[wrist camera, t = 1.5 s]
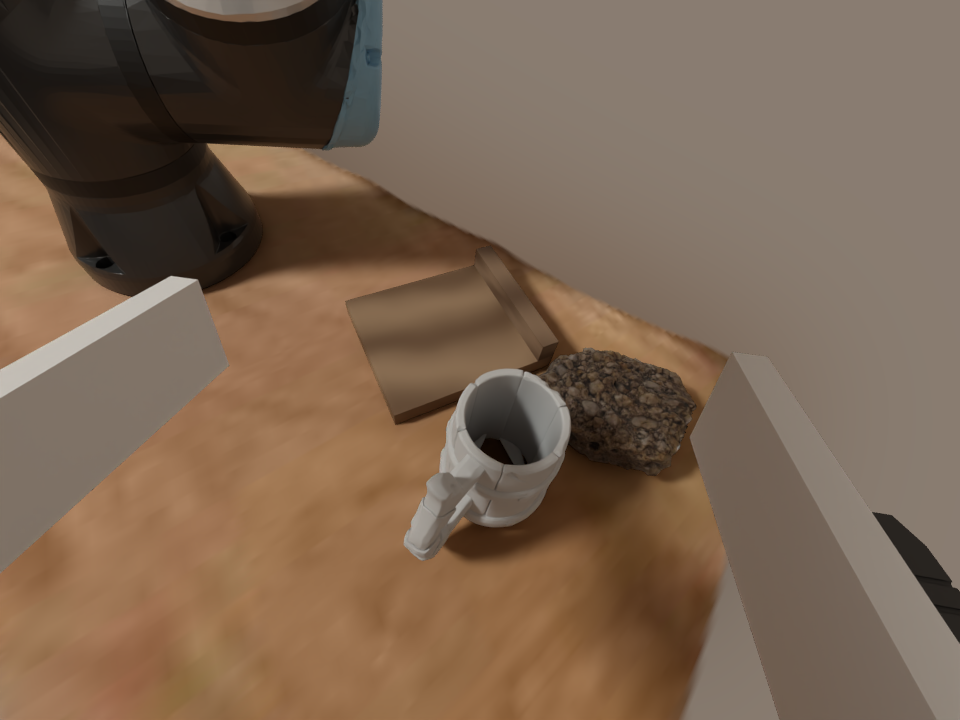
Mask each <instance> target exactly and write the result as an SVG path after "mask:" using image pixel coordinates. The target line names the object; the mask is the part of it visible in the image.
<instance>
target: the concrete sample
mask: <svg viewBox="0 0 960 720" xmlns="http://www.w3.org/2000/svg"><path fill="white" fill-rule="evenodd" d="M538 377H539V378H540V379H542V380H543V381H545V382H546V383H547V384H548V385H549V388H550V389H552V390H554V391H557V392H558V393H559V394H560V396H561V397H562V399H563V400H564V402H565V403H566V406H565V407H568V410H569V413H570V419H571V432H570V437H569V441H568V444H570V445H571V446H572V447H573V448H575V449H576V450H577V451H578V452H579V453H580V454H585V455H586V456H587V457H588V459H589V460H592V461H597V462H603V463H610V464H614V465H618V466H621V467H623V468H625V469H627V470H629V469H636V470H641V471H643V472H645V473H646V474H647V475H654V476H656V475H657V474H658V473H659V472H660V471H661V470H662V469H664V468H666V467H669V466H671V457H672V455H674V454H675V453H676V452H677V450H678V449H679V447H680V442H681V441H682V440H681V439H682V438H684V433H686V432H685V430H686V428H687V427H688V426H686V425H687V424H688V423H689V422H690V421H691V420H692V417H691V414H693V413H692V411H693V410H695V409H696V405H695V404H694V401H693V400H692V399H691V396H690V395H689V394H688V393H687V391H686V389H685V387H684V386H683V384H682V381H681V378H680V377H679V376H678V375H677V374H676V373H674V372H671V371H669V370H667V369H664V368H661V367H657V366H654V365H651V364H647V363H643V362H641V361H639V360H637V359H636V358H634V359H632V358H629V357H627V356H625V355H622V356H621V355H620V354H619V353H617V352H613V351H598V350H596V351H595V350H594V349H593V348H584V349H583V352H580V353H576V354H570V355H569V356H567V355H560V356H559V357H558V358H556V359H555V360H554V361H553V362H552V363H551V364H550V366H549V368H548V369H547V370H546V372H545V373H543V374H541V375H539V376H538Z"/></svg>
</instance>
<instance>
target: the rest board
mask: <svg viewBox="0 0 960 720" xmlns="http://www.w3.org/2000/svg"><path fill="white" fill-rule="evenodd" d="M345 302H346V306H347V311H348V314H349V316H350V318H351V321H352V323H353V326H354V328H355V330H356V333H357V335H358V337H359V340H360V342H361V344H362V347H363V349H364V352H365V354H366V356H367V359H368V361H369V363H370V366H371V368H372V371H373V373H374V375H375V378H376V380H377V382H378V385H379V387H380V389H381V392H382V394H383V397H384V399H385V401H386V404H387V406H388V408H389V411H390V413H391V416H392V418H393V420H394V423H395V425H396V424H398V423H401V422H403V421H406V420H409V419H411V418H414V417H416V416H419V415H421V414H424V413H427V412H429V411H432V410H434V409H437V408H439V407H442V406H445V405H447V404H450V403H452V402H455V401H457V400H459V398H460V396H461V394H462V393H463V391H464V390H465V388H466V387H467V386H468V385H469V384H470V383H475V381H476V379H478V378H479V377H480V376H481V375H483V374H485V373H487V372H490V371H493V370H498V369H519V370H523V374H524V372H532V371H535V370H537V369H540V368H542V367H545V366H547V365H549V363H550V361H551V358H552V356H553V354H554V351H555V349H556V347H557V344H558V342H559V341H558V340H557V338H556V337H555V335H554V334H553V333H552V331H551V330H550V328H549V327H548V326H547V324H546V323H545V321H544V320H543V319H542V317H541V316H540V314H539V313H538V311H537V310H536V309H535V307H534V306H533V304H532V303H531V302H530V300H529V299H528V297H527V296H526V295H525V293H524V292H523V290H522V289H521V288H520V286H519V285H518V283H517V282H516V281H515V279H514V278H513V276H512V275H511V273H510V272H509V271H508V269H507V268H506V266H505V265H504V264H503V262H502V261H501V259H500V258H499V257H498V255H497V254H496V252H495V251H494V250H493V248H492V247H491V245H490V246H486V247H483V248H479V249H476V255H475V263H474V265H473V266H470V267H466V268H462V269H459V270H455V271H452V272H448V273H444V274H441V275H437V276H434V277H430V278H426V279H423V280H419V281H416V282H412V283H408V284H405V285H401V286H398V287H394V288H390V289H387V290H383V291H380V292H376V293H372V294H369V295H365V296H362V297H358V298H354V299H351V300H347V301H345Z"/></svg>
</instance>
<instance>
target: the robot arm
mask: <svg viewBox="0 0 960 720" xmlns="http://www.w3.org/2000/svg"><path fill="white" fill-rule="evenodd" d="M381 55H382V0H0V134H1V135H2V136H3V137H4V139H5V140H6V141H7V142H8V143H9V144H10V146H11V147H12V148H13V149H14V150H15V151H16V153H17V154H18V155H19V156H20V157H21V158H22V160H23V161H24V162H25V163H26V164H27V165H28V166H29V167H30V169H31V170H32V171H33V172H34V173H35V175H36V176H37V177H38V178H39V179H40V181H41V182H42V183H43V184H44V186H45V187H46V189H47V190H48V193H49V195H50V198H51V201H52V204H53V206H54V209H55V212H56V214H57V217H58V220H59V223H60V225H61V228H62V231H63V233H64V236H65V239H66V242H67V244H68V247H69V250H70V251H71V253H72V255H73V256H74V258H75V259H76V261H77V262H78V263H79V264H80V265H81V266H82V267H83V268H84V270H85V271H86V272H87V273H88V274H89V275H90V276H91V277H92V278H93V279H94V280H95V281H96V282H97V283H99V284H100V285H102V286H103V287H105V288H107V289H109V290H111V291H114V292H117V293H120V294H124V295H129V296H134V297H132V298H130V299H128V300H126V301H124V302H123V303H121V304H119V305H117V306H115V307H114V308H112V309H110V310H108V311H106V312H104V313H103V314H101V315H99V316H97V317H95V318H93V319H92V320H90V321H88V322H86V323H84V324H83V325H81V326H79V327H77V328H75V329H73V330H72V331H70V332H68V333H66V334H64V335H63V336H61V337H59V338H57V339H55V340H53V341H52V342H50V343H48V344H46V345H44V346H43V347H41V348H39V349H37V350H35V351H33V352H32V353H30V354H28V355H26V356H24V357H23V358H21V359H19V360H17V361H15V362H13V363H12V364H10V365H8V366H6V367H4V368H2V369H1V370H0V573H1V572H2V571H3V570H4V569H6V568H7V567H8V566H9V565H10V564H11V563H12V562H13V561H14V560H16V559H17V558H18V557H19V556H20V555H21V554H22V553H23V552H24V551H25V550H27V549H28V548H29V547H30V546H31V545H32V544H33V543H34V542H35V541H36V540H38V539H39V538H40V537H41V536H42V535H43V534H44V533H45V532H46V531H47V530H49V529H50V528H51V527H52V526H53V525H54V524H55V523H56V522H57V521H58V520H60V519H61V518H62V517H63V516H64V515H65V514H66V513H67V512H68V511H69V510H71V509H72V508H73V507H74V506H75V505H76V504H77V503H78V502H79V501H80V500H82V499H83V498H84V497H85V496H86V495H87V494H88V493H89V492H90V491H92V490H93V489H94V488H95V487H96V486H97V485H98V484H99V483H100V482H101V481H103V480H104V479H105V478H106V477H107V476H108V475H109V474H110V473H111V472H112V471H114V470H115V469H116V468H117V467H118V466H119V465H120V464H121V463H122V462H123V461H125V460H126V459H127V458H128V457H129V456H130V455H131V454H132V453H133V452H134V451H136V450H137V449H138V448H139V447H140V446H141V445H142V444H143V443H144V442H145V441H147V440H148V439H149V438H150V437H151V436H152V435H153V434H154V433H155V432H157V431H158V430H159V429H160V428H161V427H162V426H163V425H164V424H165V423H166V422H168V421H169V420H170V419H171V418H172V417H173V416H174V415H175V414H176V413H177V412H179V411H180V410H181V409H182V408H183V407H184V406H185V405H186V404H187V403H188V402H190V401H191V400H192V399H193V398H194V397H195V396H196V395H197V394H198V393H199V392H201V391H202V390H203V389H204V388H205V387H206V386H207V385H208V384H209V383H210V382H212V381H213V380H214V379H215V378H216V377H217V376H218V375H219V374H220V373H221V372H223V371H224V370H225V369H226V368H227V367H228V366H229V363H228V360H227V358H226V355H225V352H224V350H223V347H222V344H221V341H220V339H219V336H218V333H217V330H216V328H215V325H214V322H213V319H212V317H211V314H210V311H209V308H208V306H207V303H206V300H205V297H204V295H203V292H202V289H203V288H205V287H208V286H210V285H213V284H215V283H217V282H219V281H221V280H223V279H225V278H227V277H228V276H230V275H232V274H233V273H234V272H236V271H237V270H239V269H240V268H241V267H242V266H243V265H244V264H246V263H247V262H248V261H249V260H250V258H251V257H252V256H253V255H254V253H255V252H256V250H257V248H258V246H259V244H260V242H261V238H262V223H261V220H260V218H259V215H258V213H257V210H256V207H255V205H254V203H253V201H252V199H251V197H250V196H249V194H248V193H247V192H246V191H245V190H244V188H243V187H242V186H241V185H240V184H239V183H238V181H237V180H236V179H235V178H234V177H233V176H232V174H231V173H230V172H229V171H228V170H227V169H226V167H225V166H224V165H223V164H222V163H221V162H220V160H219V159H218V158H217V157H216V156H215V155H214V153H213V152H212V151H211V150H210V149H209V147H208V145H207V143H210V144H230V145H250V146H271V147H291V148H312V149H322V150H330V149H332V148H338V147H362V146H365V145H368V144H369V143H370V142H371V141H372V140H373V139H374V138H375V136H376V134H377V132H378V128H379V120H380V107H381V79H382V66H381V65H382V64H381ZM690 440H691V444H692V447H693V450H694V453H695V456H696V459H697V462H698V465H699V469H700V472H701V475H702V478H703V481H704V484H705V487H706V491H707V494H708V497H709V500H710V503H711V506H712V509H713V513H714V516H715V519H716V522H717V525H718V528H719V531H720V534H721V538H722V541H723V544H724V547H725V550H726V553H727V556H728V560H729V563H730V566H731V569H732V572H733V575H734V578H735V581H736V585H737V587H738V591H739V594H740V597H741V600H742V603H743V607H744V609H745V613H746V616H747V619H748V622H749V625H750V628H751V632H752V635H753V638H754V641H755V644H756V647H757V650H758V653H759V657H760V660H761V663H762V666H763V669H764V672H765V675H766V679H767V682H768V685H769V688H770V691H771V694H772V697H773V701H774V704H775V707H776V710H777V713H778V716H779V719H780V720H960V591H959V590H958V589H957V588H953V587H952V585H951V582H952V581H951V579H950V578H949V576H948V575H947V574H946V572H945V571H944V570H943V568H942V567H941V566H940V564H939V563H938V561H937V560H936V559H935V557H934V556H933V555H932V553H931V552H930V551H929V549H928V548H927V546H925V545H924V544H923V543H922V542H921V541H920V540H919V539H918V538H917V537H915V536H914V535H913V534H912V533H911V532H910V531H909V530H908V529H906V528H905V527H904V526H903V525H902V524H901V523H900V522H899V521H898V520H896V519H895V518H894V517H893V516H892V515H887V514H881V513H874V512H871V510H870V509H869V507H868V506H867V504H866V503H865V501H864V500H863V498H862V497H861V495H860V494H859V492H858V491H857V489H856V488H855V486H854V485H853V483H852V482H851V481H850V479H849V478H848V476H847V474H846V473H845V471H844V470H843V468H842V467H841V465H840V464H839V462H838V461H837V459H836V458H835V456H834V455H833V453H832V452H831V450H830V449H829V448H828V446H827V444H826V443H825V441H824V440H823V438H822V437H821V436H820V434H819V432H818V431H817V429H816V428H815V427H814V425H813V423H812V422H811V420H810V419H809V417H808V416H807V414H806V413H805V412H804V410H803V409H802V407H801V406H800V404H799V403H798V401H797V400H796V398H795V396H794V395H793V393H792V392H791V390H790V389H789V388H788V386H787V385H786V383H785V382H784V380H783V378H782V377H781V376H780V374H779V372H778V371H777V369H776V368H775V367H774V365H773V363H772V362H771V360H770V359H769V357H767V356H760V355H753V354H745V353H738V352H732V353H731V355H730V357H729V359H728V361H727V363H726V365H725V367H724V369H723V371H722V373H721V375H720V377H719V379H718V381H717V383H716V385H715V387H714V389H713V391H712V393H711V395H710V397H709V399H708V401H707V403H706V405H705V407H704V409H703V411H702V413H701V415H700V417H699V419H698V421H697V423H696V425H695V427H694V429H693V431H692V433H691V435H690Z"/></svg>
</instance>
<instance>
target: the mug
mask: <svg viewBox="0 0 960 720" xmlns="http://www.w3.org/2000/svg"><path fill="white" fill-rule="evenodd" d="M565 406H566V403H565V402H564V400H563V399H562V397H561V396H560V394H559V393H558V392H557V391H554V390H552V389H550V388H549V385H548V384H547V383H546V382H545V381H543V380H542V379H540V378H539V377H538V376H536V375H534V374H531V373H529V372H524V374H523V370H519V369H498V370H493V371H490V372H487V373H485V374H483V375H481V376H480V377H479V378H478V379H476V381H475V383H470V384H469V385H468V386H467V387H466V388H465V390H464V391H463V393H462V394H461V396H460V398H459V401H458V404H457V407H456V410H455V412H454V413H453V415H452V417H451V419H450V420H449V421H448V424H447V428H446V445H445V447H444V448H443V449H442V452H441V460H440V470H439V471H440V473H437V474H435V475H434V476H432V477H431V478H430V479H429V480H428V481H427V483H426V485H427V490H428V491H427V495H426V497H424V498H423V499H422V500H421V503H420V505H419V507H418V510H417V512H416V514H415V516H414V517H413V519H412V521H411V525H412V527H411V528H410V529H409V530H408V531H407V533H406V535H405V539H404V546H405V547H406V548H407V549H409V551H410V552H411V553H412V554H413V555H415V556H416V557H417V558H418V559H420V560H422V561H424V560H428V559H431V558H433V557H434V556H435V555H436V554H437V553H438V551H439V550H440V549H441V548H442V546H443V545H444V543H445V542H446V541H447V539H448V536H449V534H450V533H451V532H452V530H453V529H454V528H455V526H456V525H457V524H458V522H459V521H460V520H461V518H462V517H465V518H466V519H468V520H469V521H471V522H473V523H476V524H479V525H482V526H487V527H506V526H512V525H514V524H516V523H518V522H520V521H522V520H524V519H526V518H527V517H528V516H530V515H531V514H532V513H533V512H534V511H535V510H536V509H537V507H538V506H539V505H540V504H541V502H542V500H543V498H544V496H545V494H546V490H547V488H548V487H549V484H550V483H551V482H552V480H553V479H554V478H555V476H556V475H557V473H558V471H559V469H560V467H561V464H562V462H563V461H564V458H565V450H566V447H567V445H568V441H569V437H570V432H571V419H570V413H569V410H568V407H565ZM486 438H493V439H497V440H500V441H501V443H502V444H503V446H504V448H505V450H506V451H507V453H508V455H509V457H510V459H511V460H512V462H513V464H514V465H507V464H505V465H504V464H503V463H500V462H498V461H496V460H494V459H492V458H490V457H489V456H487V455H486V454H485V453H483V452H482V451H481V450H480V448H481V446H482V444H483V442H484V439H486ZM474 441H475V442H474ZM522 454H523V456H524V457H525V459H526V461H527V463H528V464H526V465H524V461H523V457H522Z"/></svg>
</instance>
